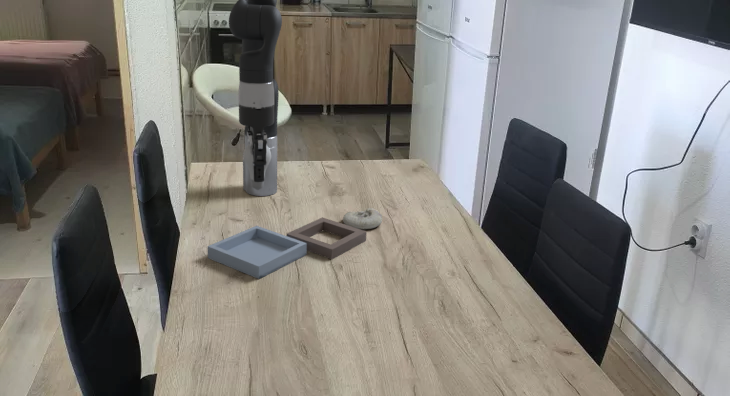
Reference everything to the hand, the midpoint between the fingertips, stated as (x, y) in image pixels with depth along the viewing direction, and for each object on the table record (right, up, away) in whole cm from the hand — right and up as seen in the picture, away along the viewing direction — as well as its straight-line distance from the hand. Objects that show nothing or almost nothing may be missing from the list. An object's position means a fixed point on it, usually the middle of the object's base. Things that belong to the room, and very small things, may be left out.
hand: (257, 176), depth 144 cm
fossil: (+24, -12, +29) cm, 39 cm away
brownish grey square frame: (+14, -16, +16) cm, 27 cm away
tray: (-1, -18, +7) cm, 20 cm away
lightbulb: (0, -3, +1) cm, 3 cm away
